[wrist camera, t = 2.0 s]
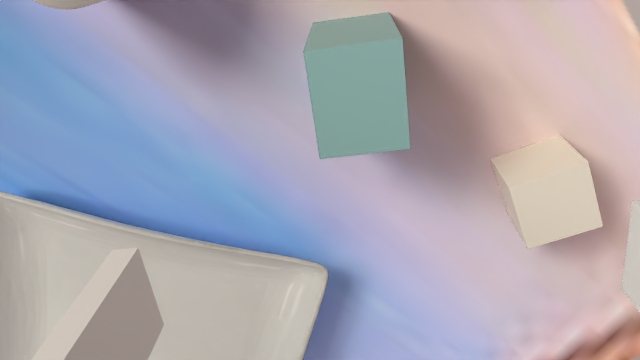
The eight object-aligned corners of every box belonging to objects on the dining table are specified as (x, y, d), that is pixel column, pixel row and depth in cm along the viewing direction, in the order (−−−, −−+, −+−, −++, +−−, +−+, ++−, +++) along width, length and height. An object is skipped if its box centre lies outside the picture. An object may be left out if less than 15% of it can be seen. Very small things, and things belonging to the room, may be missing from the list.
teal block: (325, 108, 37) (319, 159, 29) (313, 22, 35) (303, 51, 27) (396, 100, 37) (410, 149, 29) (389, 12, 34) (402, 38, 26)
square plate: (-8, 165, 41) (-41, 187, 37) (334, 242, 43) (333, 270, 39) (2, 405, 53) (-22, 439, 49) (270, 459, 54) (265, 495, 51)
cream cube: (507, 213, 40) (527, 249, 36) (490, 158, 38) (509, 188, 34) (573, 192, 39) (603, 226, 35) (559, 134, 37) (588, 162, 33)
